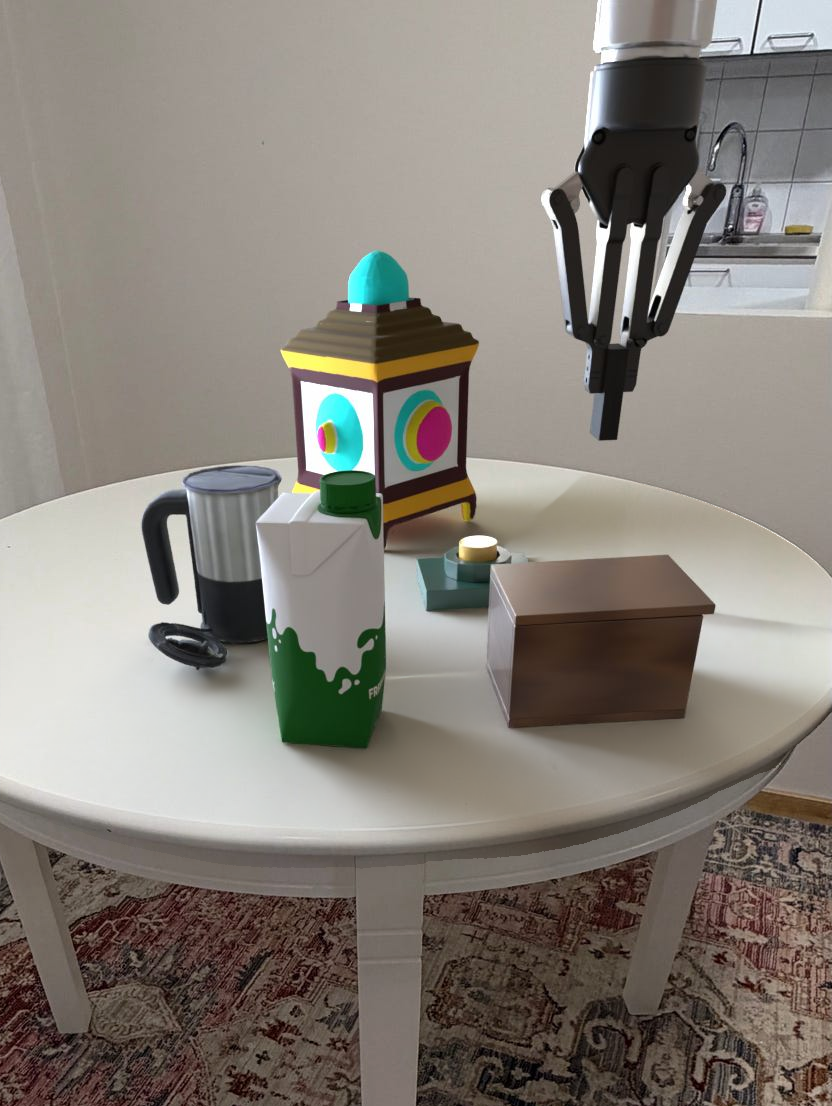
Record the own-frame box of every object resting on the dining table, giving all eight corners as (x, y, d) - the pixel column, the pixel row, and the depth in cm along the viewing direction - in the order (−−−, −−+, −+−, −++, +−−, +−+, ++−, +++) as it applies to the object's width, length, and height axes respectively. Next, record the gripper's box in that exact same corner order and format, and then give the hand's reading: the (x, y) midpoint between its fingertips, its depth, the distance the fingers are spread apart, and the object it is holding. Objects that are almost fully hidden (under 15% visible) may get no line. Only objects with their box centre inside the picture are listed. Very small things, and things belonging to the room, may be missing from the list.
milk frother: (287, 605, 102) (275, 460, 93) (306, 667, 89) (294, 505, 80) (153, 619, 100) (127, 472, 91) (153, 684, 87) (124, 520, 79)
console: (522, 572, 107) (525, 536, 105) (541, 605, 99) (544, 567, 97) (416, 577, 107) (416, 542, 105) (426, 611, 99) (426, 573, 97)
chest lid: (666, 563, 83) (668, 554, 82) (714, 614, 73) (716, 604, 73) (490, 573, 82) (490, 564, 82) (515, 625, 73) (515, 615, 72)
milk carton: (375, 755, 75) (368, 495, 64) (266, 747, 77) (239, 493, 65) (394, 704, 82) (391, 461, 70) (293, 698, 84) (273, 460, 72)
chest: (643, 658, 88) (657, 564, 83) (684, 717, 78) (703, 616, 73) (485, 667, 87) (490, 573, 82) (508, 728, 78) (515, 626, 73)
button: (493, 550, 103) (494, 534, 102) (499, 563, 99) (500, 546, 98) (456, 552, 102) (456, 536, 101) (461, 565, 99) (462, 548, 98)
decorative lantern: (275, 525, 125) (252, 255, 107) (384, 492, 135) (379, 241, 117) (380, 559, 112) (374, 261, 95) (491, 520, 123) (504, 245, 105)
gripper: (724, 59, 66) (666, 422, 80) (539, 65, 66) (514, 429, 80) (769, 50, 60) (698, 444, 74) (566, 55, 60) (533, 451, 74)
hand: (603, 436), depth 77 cm, fingers closed
